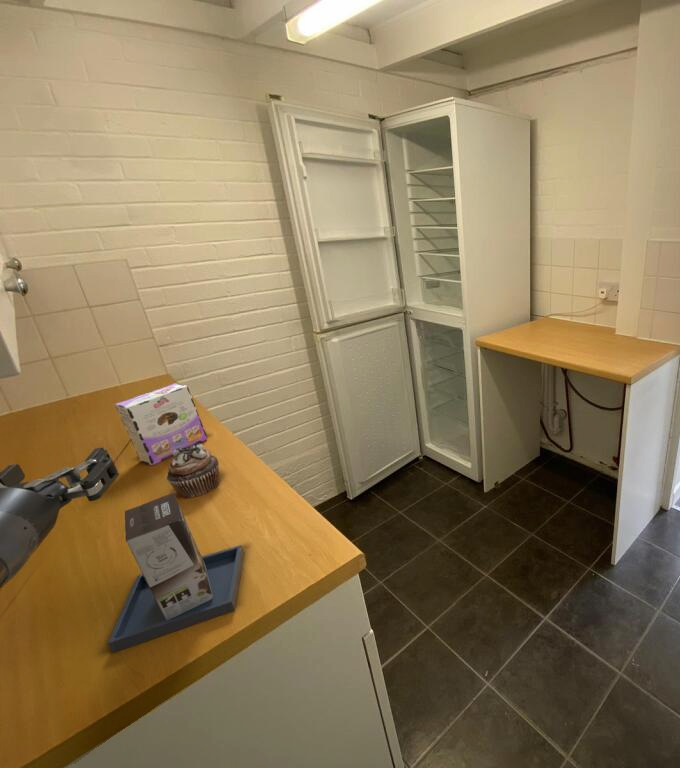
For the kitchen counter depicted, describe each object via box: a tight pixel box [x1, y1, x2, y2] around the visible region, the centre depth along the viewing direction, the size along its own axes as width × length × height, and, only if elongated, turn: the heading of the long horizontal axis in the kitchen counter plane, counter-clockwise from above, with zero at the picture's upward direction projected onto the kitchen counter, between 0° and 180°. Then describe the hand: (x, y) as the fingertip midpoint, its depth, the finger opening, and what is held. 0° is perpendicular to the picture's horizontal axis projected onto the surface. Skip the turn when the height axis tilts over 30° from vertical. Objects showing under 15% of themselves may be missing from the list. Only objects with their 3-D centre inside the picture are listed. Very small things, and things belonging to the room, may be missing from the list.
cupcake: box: [166, 443, 221, 499], centre depth 94 cm, size 10×10×10 cm
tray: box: [107, 544, 245, 653], centre depth 68 cm, size 15×13×2 cm
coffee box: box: [124, 492, 213, 621], centre depth 65 cm, size 9×6×16 cm
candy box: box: [114, 382, 209, 466], centre depth 108 cm, size 14×6×16 cm, turn 155°
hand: (61, 461), depth 55 cm, fingers open, 8 cm apart
